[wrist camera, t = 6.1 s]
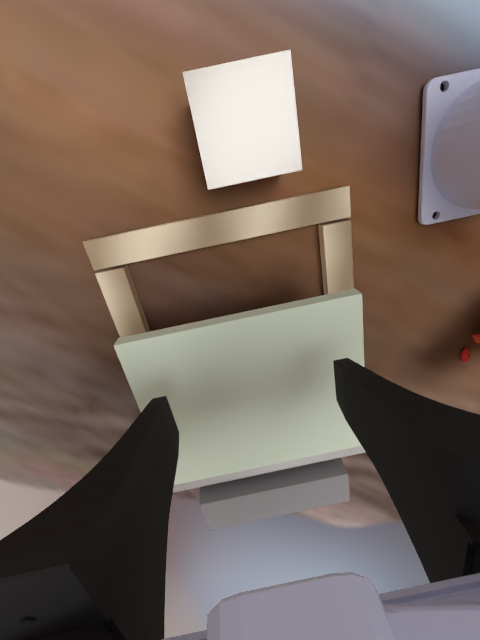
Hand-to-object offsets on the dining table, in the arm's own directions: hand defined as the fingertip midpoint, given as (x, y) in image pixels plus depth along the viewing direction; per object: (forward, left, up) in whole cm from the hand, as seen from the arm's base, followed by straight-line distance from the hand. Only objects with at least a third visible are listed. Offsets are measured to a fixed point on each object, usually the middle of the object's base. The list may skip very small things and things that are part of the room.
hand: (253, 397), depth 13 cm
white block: (-2, -10, -10) cm, 15 cm away
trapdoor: (0, +4, -4) cm, 6 cm away
